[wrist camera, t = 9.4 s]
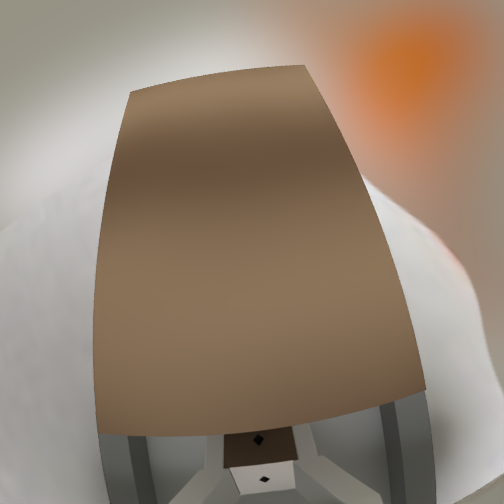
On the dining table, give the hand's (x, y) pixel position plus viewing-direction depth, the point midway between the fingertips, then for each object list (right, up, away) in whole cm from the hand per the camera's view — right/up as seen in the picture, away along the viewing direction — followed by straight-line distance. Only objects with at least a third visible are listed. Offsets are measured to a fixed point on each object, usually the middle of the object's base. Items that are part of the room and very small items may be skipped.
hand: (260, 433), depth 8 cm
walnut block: (0, +3, +6) cm, 7 cm away
